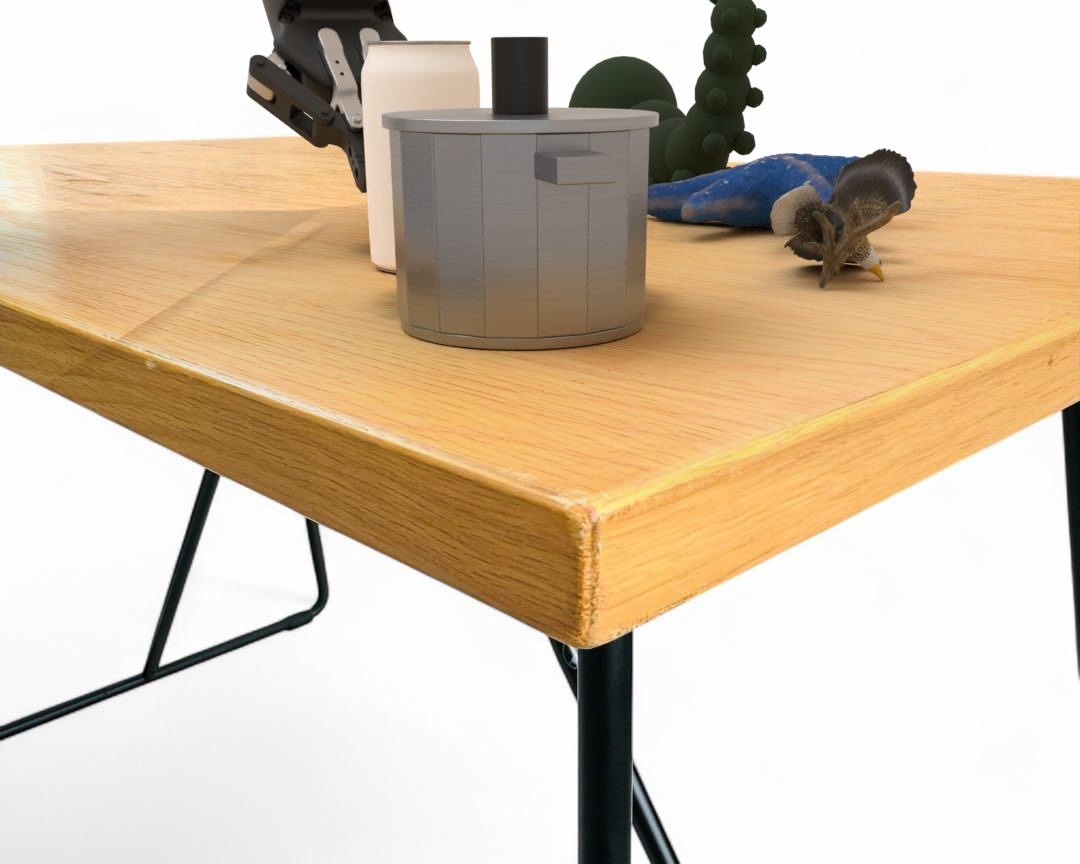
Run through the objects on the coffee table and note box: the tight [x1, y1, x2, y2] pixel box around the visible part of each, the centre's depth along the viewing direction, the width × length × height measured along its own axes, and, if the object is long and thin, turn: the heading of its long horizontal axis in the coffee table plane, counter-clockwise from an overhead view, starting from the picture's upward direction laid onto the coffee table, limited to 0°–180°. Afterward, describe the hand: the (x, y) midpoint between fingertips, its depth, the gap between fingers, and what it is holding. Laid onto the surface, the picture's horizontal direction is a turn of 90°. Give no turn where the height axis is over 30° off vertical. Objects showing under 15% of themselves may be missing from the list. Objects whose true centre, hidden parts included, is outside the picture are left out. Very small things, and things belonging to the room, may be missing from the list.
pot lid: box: [382, 36, 659, 134], centre depth 51 cm, size 12×12×4 cm
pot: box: [389, 128, 649, 351], centre depth 53 cm, size 11×16×8 cm
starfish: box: [647, 152, 913, 228], centre depth 84 cm, size 19×19×5 cm
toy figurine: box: [567, 0, 768, 187], centre depth 100 cm, size 9×19×25 cm
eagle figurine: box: [770, 147, 918, 290], centre depth 65 cm, size 8×7×9 cm
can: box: [361, 40, 481, 274], centre depth 68 cm, size 6×6×12 cm
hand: (386, 191), depth 71 cm, fingers closed
